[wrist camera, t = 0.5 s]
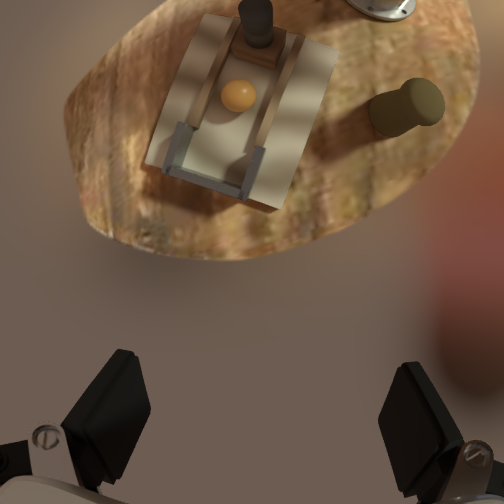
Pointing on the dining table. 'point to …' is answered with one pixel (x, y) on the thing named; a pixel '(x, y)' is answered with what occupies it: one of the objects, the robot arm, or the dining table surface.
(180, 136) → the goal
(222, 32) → the lane board
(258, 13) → the player block
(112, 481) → the robot arm
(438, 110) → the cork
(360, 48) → the dining table surface
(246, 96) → the ball
